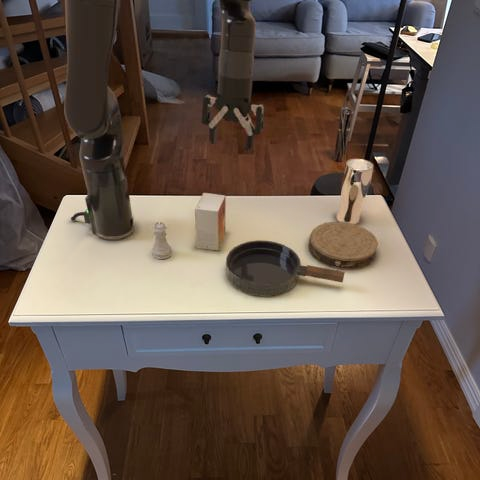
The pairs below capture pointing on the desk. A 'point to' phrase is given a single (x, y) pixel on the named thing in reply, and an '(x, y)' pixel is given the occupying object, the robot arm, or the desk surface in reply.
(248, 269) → the pan
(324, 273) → the pan handle
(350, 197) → the silver metal cup
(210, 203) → the small box
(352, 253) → the wood slice
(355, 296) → the desk surface
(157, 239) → the rook chess piece
